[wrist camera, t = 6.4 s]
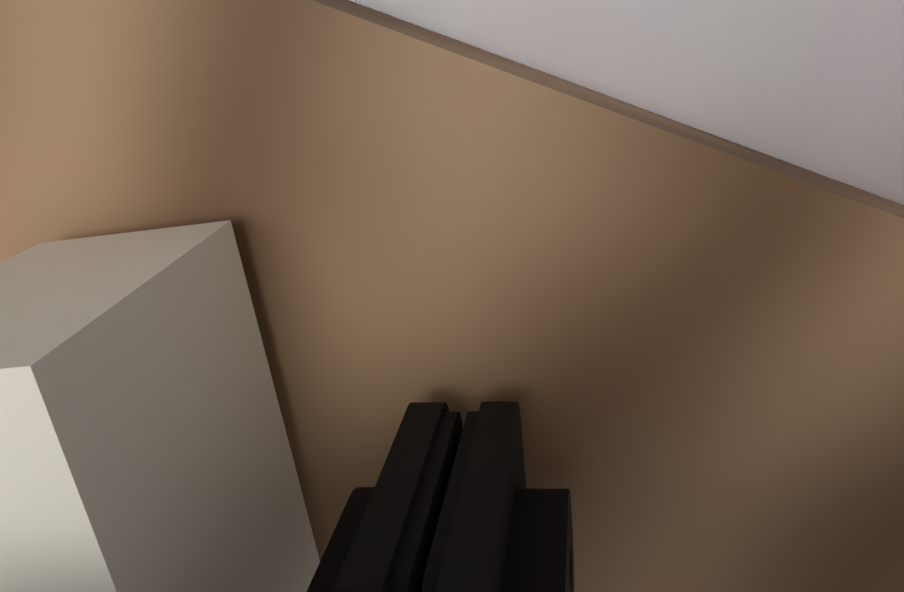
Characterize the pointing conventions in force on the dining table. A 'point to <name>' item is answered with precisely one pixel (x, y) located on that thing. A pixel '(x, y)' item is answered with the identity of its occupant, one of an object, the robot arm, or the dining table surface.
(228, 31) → the board
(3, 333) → the handle
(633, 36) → the dining table surface
